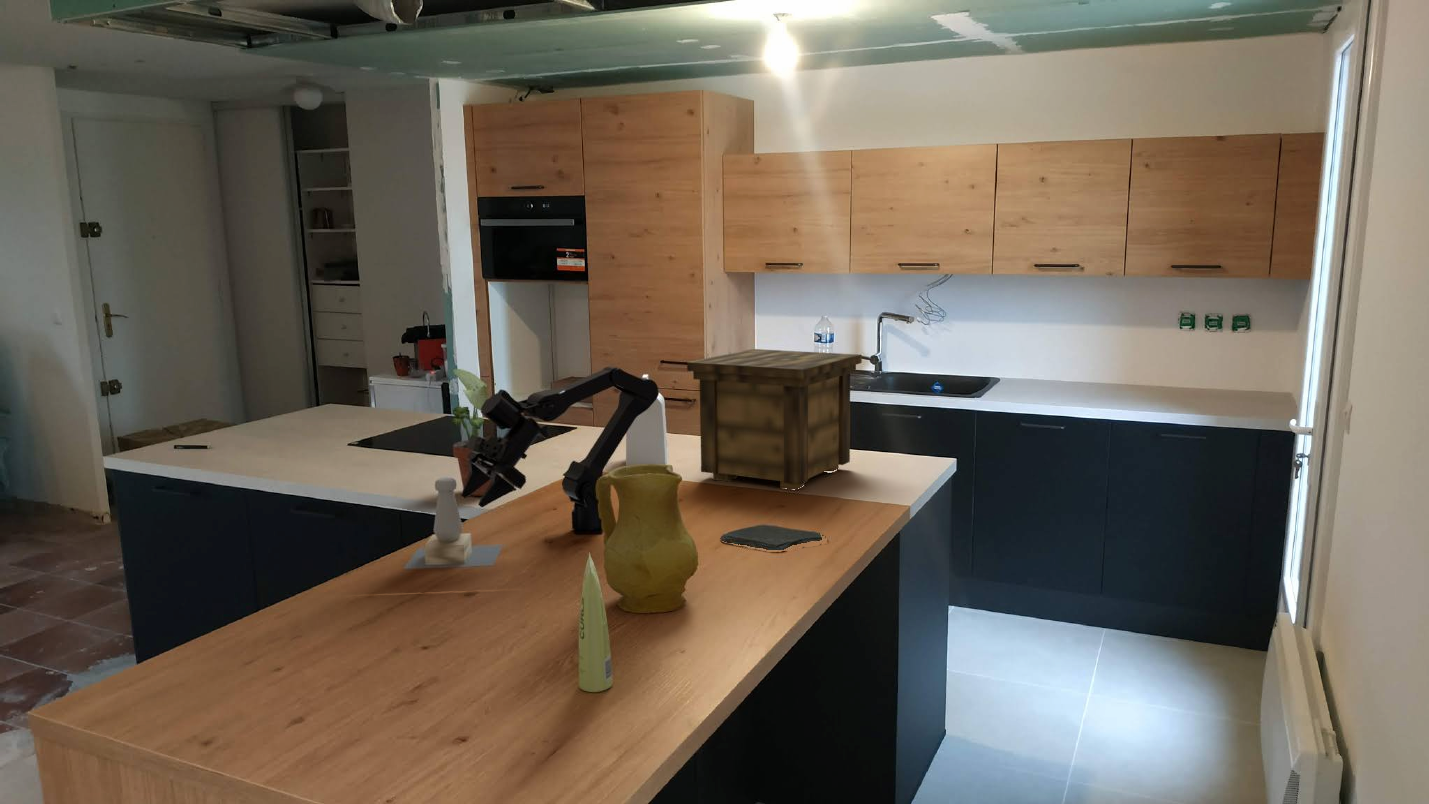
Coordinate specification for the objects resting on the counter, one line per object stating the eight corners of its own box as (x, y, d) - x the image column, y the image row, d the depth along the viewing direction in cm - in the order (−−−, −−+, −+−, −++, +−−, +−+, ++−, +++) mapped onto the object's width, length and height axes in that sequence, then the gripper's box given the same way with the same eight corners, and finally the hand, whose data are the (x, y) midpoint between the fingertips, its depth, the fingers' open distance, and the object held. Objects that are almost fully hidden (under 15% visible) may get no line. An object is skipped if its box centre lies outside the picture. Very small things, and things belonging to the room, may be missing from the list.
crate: (689, 480, 273) (687, 362, 268) (754, 456, 302) (753, 348, 297) (803, 496, 254) (803, 369, 249) (860, 469, 283) (861, 354, 278)
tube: (569, 686, 148) (563, 559, 145) (594, 674, 152) (589, 551, 149) (595, 696, 145) (590, 567, 142) (620, 684, 149) (616, 558, 145)
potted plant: (441, 498, 259) (432, 364, 253) (476, 484, 273) (468, 357, 267) (491, 503, 253) (484, 366, 247) (524, 488, 267) (518, 358, 261)
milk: (665, 467, 290) (663, 378, 285) (626, 467, 290) (623, 379, 286) (668, 458, 302) (666, 372, 297) (630, 458, 302) (627, 373, 297)
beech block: (471, 551, 213) (470, 533, 212) (464, 563, 205) (463, 544, 204) (433, 552, 212) (432, 534, 212) (425, 564, 204) (424, 546, 204)
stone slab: (718, 555, 210) (718, 546, 209) (721, 532, 226) (721, 523, 226) (832, 555, 209) (832, 546, 208) (826, 531, 225) (826, 523, 225)
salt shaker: (444, 545, 204) (440, 483, 202) (429, 540, 208) (425, 479, 206) (468, 538, 208) (465, 478, 206) (453, 533, 212) (449, 474, 210)
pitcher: (626, 624, 171) (623, 480, 168) (588, 596, 187) (584, 464, 185) (715, 609, 178) (713, 471, 176) (671, 583, 195) (669, 456, 192)
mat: (503, 546, 217) (503, 544, 217) (493, 567, 203) (492, 565, 203) (419, 549, 216) (419, 547, 216) (403, 570, 202) (403, 568, 202)
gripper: (471, 414, 218) (426, 471, 213) (508, 426, 203) (460, 488, 198) (507, 443, 223) (464, 500, 219) (545, 457, 209) (500, 519, 204)
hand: (471, 501), depth 210 cm, fingers open, 9 cm apart
